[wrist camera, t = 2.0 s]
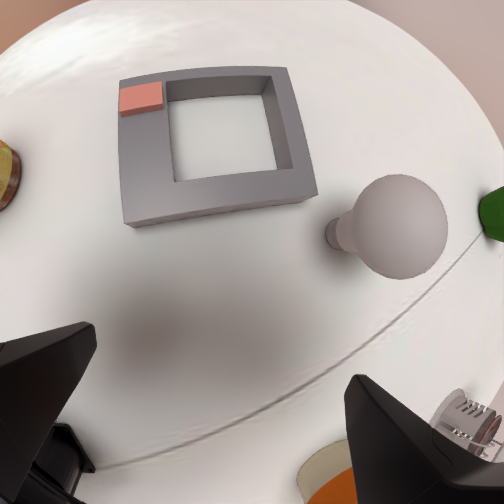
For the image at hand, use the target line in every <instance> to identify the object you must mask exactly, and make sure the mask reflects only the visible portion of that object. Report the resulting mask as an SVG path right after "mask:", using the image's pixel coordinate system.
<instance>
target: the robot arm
mask: <svg viewBox="0 0 504 504" xmlns="http://www.w3.org/2000/svg"><path fill="white" fill-rule="evenodd" d="M96 348H97V340H96V333H95V327H94V325H93V324H91V323H88V322H85V321H83V322H79V323H75V324H72V325H68V326H64V327H61V328H57V329H53V330H49V331H46V332H42V333H38V334H34V335H30V336H26V337H23V338H19V339H15V340H11V341H7V342H3V343H0V504H86V503H84V502H83V501H82V502H81V501H80V500H78V499H77V498H75V497H74V493H75V490H76V487H77V485H78V482H79V479H80V477H81V474H82V472H84V473H95V468H94V466H93V465H92V463H91V462H90V460H89V458H88V457H87V455H86V454H85V452H84V450H83V449H82V447H81V446H80V444H79V442H78V440H77V439H76V437H75V435H74V433H73V432H72V430H71V428H70V427H69V426H68V425H66V424H55V423H54V422H55V421H56V419H57V417H58V416H59V414H60V412H61V411H62V409H63V407H64V406H65V404H66V402H67V401H68V399H69V397H70V396H71V394H72V393H73V391H74V390H75V388H76V386H77V385H78V383H79V381H80V380H81V378H82V376H83V374H84V372H85V370H86V368H87V366H88V364H89V362H90V360H91V358H92V356H93V354H94V352H95V350H96ZM344 402H345V416H346V431H347V439H348V444H349V450H350V456H351V462H352V468H353V475H354V481H355V488H356V495H357V503H358V504H504V462H499V463H494V462H488V461H485V460H483V459H481V458H480V457H478V456H476V455H474V454H473V453H471V452H469V451H468V450H466V449H464V448H463V447H461V446H459V445H458V444H456V443H454V442H453V441H451V440H450V439H448V438H447V437H446V436H444V435H443V434H441V433H440V432H439V431H437V430H436V429H435V428H432V426H431V425H429V424H428V423H427V422H425V421H424V420H423V419H421V418H420V417H419V416H418V415H416V414H415V413H414V412H412V411H411V410H410V409H408V408H407V407H406V406H405V405H403V404H402V403H401V402H399V401H398V400H397V399H396V398H394V397H393V396H392V395H390V394H389V393H388V392H387V391H385V390H384V389H383V388H382V387H380V386H379V385H378V384H377V383H375V382H374V381H373V380H371V379H370V378H369V377H368V376H366V375H364V374H355V375H353V377H352V378H351V381H350V383H349V385H348V387H347V389H346V391H345V394H344ZM66 429H67V430H66Z"/></svg>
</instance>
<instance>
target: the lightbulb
mask: <svg viewBox="0 0 504 504" xmlns="http://www.w3.org/2000/svg"><path fill="white" fill-rule="evenodd" d="M447 234H448V221H447V216H446V212H445V209H444V206H443V204H442V202H441V200H440V198H439V197H438V195H437V194H436V193H435V192H434V191H433V190H432V189H431V188H430V187H429V186H428V185H427V184H426V183H424V182H422V181H421V180H419V179H417V178H415V177H412V176H407V175H402V174H398V175H387V176H384V177H382V178H379V179H377V180H375V181H374V182H372V183H371V184H370V185H368V186H367V187H366V188H365V189H364V190H363V191H362V193H361V194H360V195H359V197H358V199H357V201H356V203H355V205H354V207H353V209H352V210H351V211H349V212H347V213H345V214H344V215H342V216H341V217H340V218H337V219H335V220H333V221H331V222H330V223H329V225H328V227H327V230H326V236H327V240H328V242H329V244H330V245H331V246H332V247H333V248H335V249H338V250H345V251H347V252H349V253H352V254H358V255H359V257H360V258H361V259H362V260H363V261H364V263H365V264H366V265H367V266H368V267H369V268H371V269H372V270H373V271H374V272H376V273H378V274H380V275H383V276H385V277H387V278H391V279H398V280H402V279H409V278H414V277H416V276H418V275H421V274H423V273H425V272H426V271H427V270H429V269H430V268H431V267H432V266H433V265H434V264H435V263H436V262H437V260H438V259H439V257H440V256H441V254H442V252H443V250H444V248H445V245H446V241H447Z"/></svg>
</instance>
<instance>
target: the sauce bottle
mask: <svg viewBox="0 0 504 504" xmlns="http://www.w3.org/2000/svg"><path fill="white" fill-rule="evenodd" d="M19 176H20V160H19V158H18V155H17V153H16V152H15V151H14V150H13V149H11V148H10V147H9V146H8V145H7V144H6V143H5V142H3V141H1V140H0V210H2V209H3V208H4V207H5V206H6V205H7V203H8V202H9V201H10V200H11V199H12V197H13V195H14V193H15V190H16V189H17V186H18V182H19Z"/></svg>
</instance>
